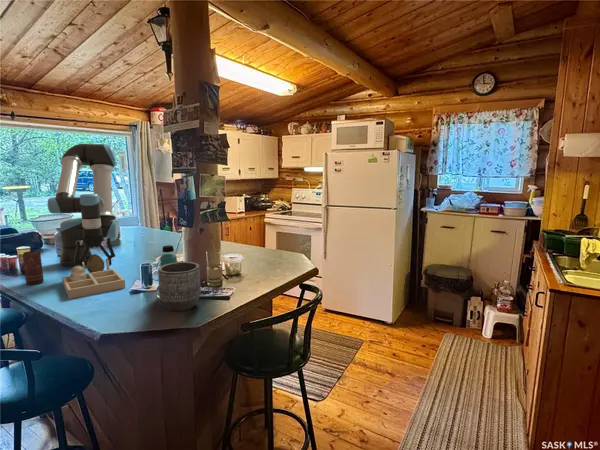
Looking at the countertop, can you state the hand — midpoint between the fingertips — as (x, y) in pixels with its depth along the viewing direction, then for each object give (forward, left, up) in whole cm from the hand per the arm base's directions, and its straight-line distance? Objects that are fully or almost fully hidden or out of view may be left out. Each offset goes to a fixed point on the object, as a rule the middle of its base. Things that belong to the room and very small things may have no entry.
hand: (96, 274), depth 164 cm
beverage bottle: (+48, +18, 0) cm, 51 cm away
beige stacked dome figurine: (+13, -9, +1) cm, 16 cm away
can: (-3, -23, 0) cm, 23 cm away
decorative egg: (0, 0, 0) cm, 0 cm away
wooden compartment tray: (+18, -4, 0) cm, 18 cm away
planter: (+62, +17, 0) cm, 64 cm away
